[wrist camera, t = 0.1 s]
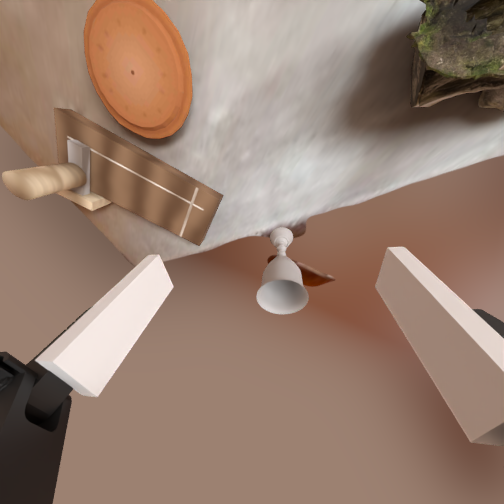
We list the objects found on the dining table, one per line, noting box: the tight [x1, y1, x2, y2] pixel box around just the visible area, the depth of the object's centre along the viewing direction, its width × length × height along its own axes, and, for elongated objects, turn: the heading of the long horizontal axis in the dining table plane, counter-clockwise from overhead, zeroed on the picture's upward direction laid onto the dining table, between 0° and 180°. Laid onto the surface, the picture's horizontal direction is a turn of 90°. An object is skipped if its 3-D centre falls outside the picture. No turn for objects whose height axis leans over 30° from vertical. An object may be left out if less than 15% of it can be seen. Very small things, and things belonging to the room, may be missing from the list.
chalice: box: [257, 227, 309, 314], centre depth 34 cm, size 7×7×18 cm
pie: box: [84, 0, 192, 139], centre depth 27 cm, size 15×16×5 cm
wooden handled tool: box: [2, 140, 111, 211], centre depth 32 cm, size 7×11×14 cm, turn 152°
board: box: [54, 108, 223, 246], centre depth 37 cm, size 30×12×3 cm, turn 62°
